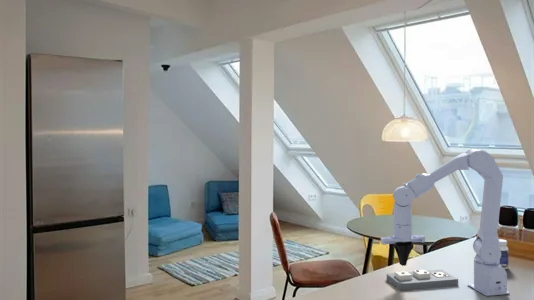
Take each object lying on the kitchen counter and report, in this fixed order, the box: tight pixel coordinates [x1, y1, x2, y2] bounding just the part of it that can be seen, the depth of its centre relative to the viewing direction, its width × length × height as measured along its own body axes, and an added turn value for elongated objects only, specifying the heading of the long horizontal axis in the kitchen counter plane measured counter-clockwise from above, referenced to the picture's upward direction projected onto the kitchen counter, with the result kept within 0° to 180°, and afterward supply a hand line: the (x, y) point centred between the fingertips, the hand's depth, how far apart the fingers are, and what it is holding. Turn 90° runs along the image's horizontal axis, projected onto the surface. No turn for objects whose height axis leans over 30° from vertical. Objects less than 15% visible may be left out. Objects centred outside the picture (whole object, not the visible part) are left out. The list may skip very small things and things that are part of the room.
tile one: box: [394, 270, 412, 281], centre depth 146 cm, size 4×4×2 cm
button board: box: [386, 269, 459, 291], centre depth 147 cm, size 10×20×2 cm, turn 99°
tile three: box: [431, 272, 449, 278], centre depth 148 cm, size 4×4×2 cm
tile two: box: [412, 269, 430, 279], centre depth 147 cm, size 4×4×2 cm
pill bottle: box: [499, 238, 510, 270], centre depth 160 cm, size 6×6×10 cm
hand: (402, 264), depth 146 cm, fingers closed
